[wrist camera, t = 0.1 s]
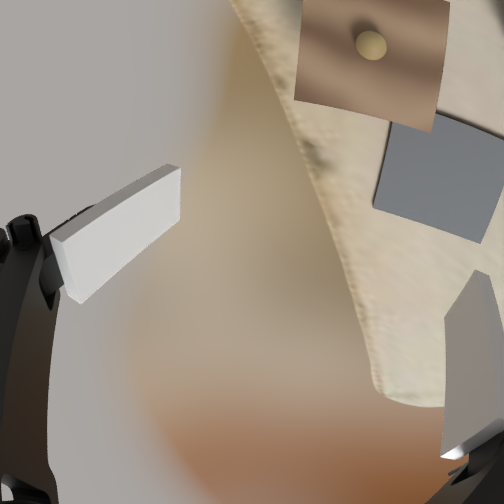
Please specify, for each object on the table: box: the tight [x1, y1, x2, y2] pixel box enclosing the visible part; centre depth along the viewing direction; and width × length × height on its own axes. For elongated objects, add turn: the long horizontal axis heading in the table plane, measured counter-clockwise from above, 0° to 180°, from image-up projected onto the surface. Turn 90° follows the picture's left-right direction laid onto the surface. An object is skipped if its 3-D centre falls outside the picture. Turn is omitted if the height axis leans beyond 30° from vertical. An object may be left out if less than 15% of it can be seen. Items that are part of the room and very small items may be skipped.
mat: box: [373, 113, 504, 244], centre depth 32 cm, size 14×16×1 cm
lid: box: [294, 0, 450, 133], centre depth 20 cm, size 12×12×3 cm
